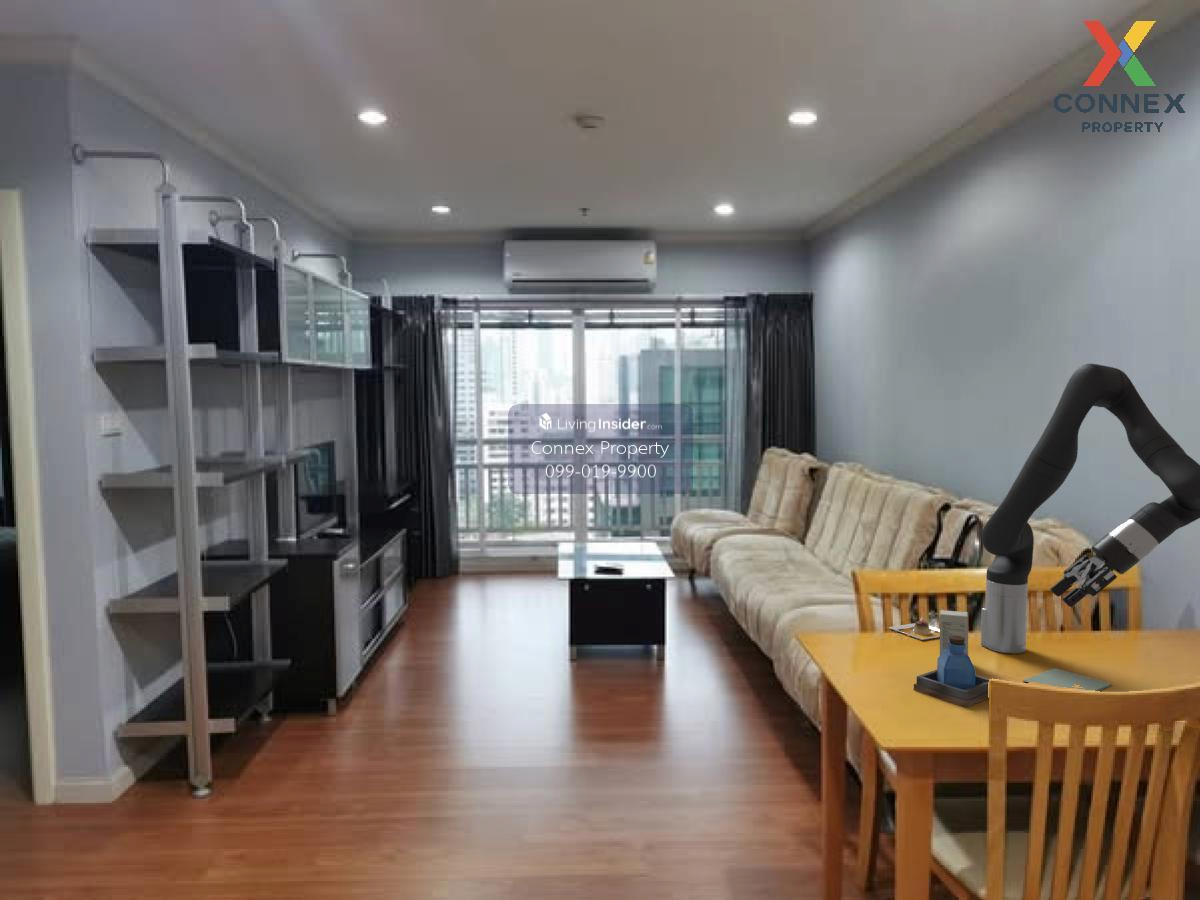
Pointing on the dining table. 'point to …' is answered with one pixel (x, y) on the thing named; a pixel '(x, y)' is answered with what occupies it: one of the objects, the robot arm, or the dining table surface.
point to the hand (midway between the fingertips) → (1059, 598)
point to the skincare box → (953, 627)
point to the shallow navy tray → (952, 689)
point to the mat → (1068, 680)
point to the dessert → (918, 629)
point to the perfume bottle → (956, 665)
